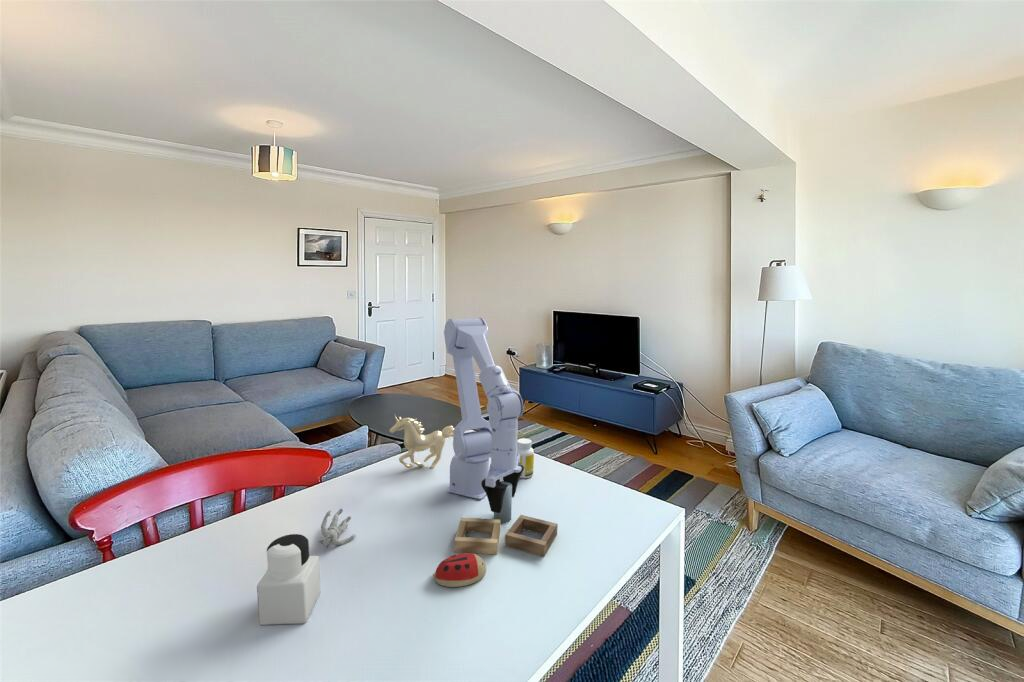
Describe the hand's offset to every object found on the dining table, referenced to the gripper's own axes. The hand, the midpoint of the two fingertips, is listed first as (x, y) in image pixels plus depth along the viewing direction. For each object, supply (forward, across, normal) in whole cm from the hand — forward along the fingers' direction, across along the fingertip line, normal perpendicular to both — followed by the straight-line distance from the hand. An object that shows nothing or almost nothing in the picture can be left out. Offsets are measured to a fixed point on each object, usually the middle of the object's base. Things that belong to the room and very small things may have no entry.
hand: (502, 503), depth 103 cm
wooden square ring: (+4, -5, -9) cm, 11 cm away
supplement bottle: (+4, +23, +4) cm, 24 cm away
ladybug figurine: (+4, -21, -1) cm, 21 cm away
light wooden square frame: (+4, -10, +1) cm, 11 cm away
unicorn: (+4, +15, +31) cm, 35 cm away
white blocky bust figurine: (+4, -40, +20) cm, 45 cm away
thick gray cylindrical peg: (+4, 0, 0) cm, 4 cm away
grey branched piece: (+4, -22, +28) cm, 36 cm away
